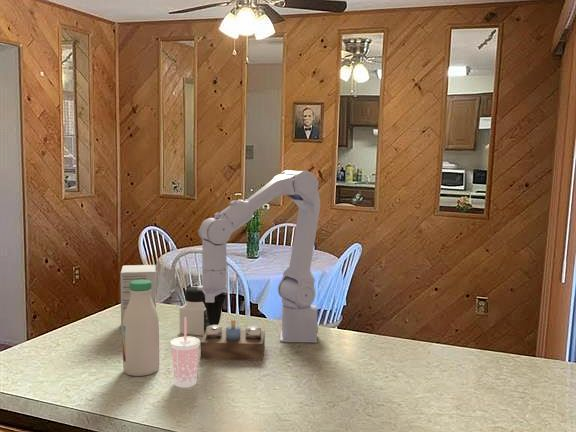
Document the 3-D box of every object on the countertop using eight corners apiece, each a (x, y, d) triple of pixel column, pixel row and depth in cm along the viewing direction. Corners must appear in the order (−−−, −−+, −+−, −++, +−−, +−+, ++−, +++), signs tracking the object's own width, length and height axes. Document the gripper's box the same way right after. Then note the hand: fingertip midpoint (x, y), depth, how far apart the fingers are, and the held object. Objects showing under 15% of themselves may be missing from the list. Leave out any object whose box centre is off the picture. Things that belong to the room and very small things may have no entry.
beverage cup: (206, 380, 113) (206, 316, 112) (187, 391, 108) (187, 323, 106) (183, 374, 116) (183, 311, 115) (164, 384, 111) (163, 319, 109)
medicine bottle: (204, 335, 142) (204, 291, 140) (179, 333, 143) (178, 289, 142) (213, 327, 149) (213, 285, 147) (189, 325, 150) (189, 283, 149)
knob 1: (222, 348, 132) (223, 325, 131) (220, 353, 128) (220, 330, 127) (207, 347, 132) (207, 325, 131) (204, 353, 128) (205, 329, 127)
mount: (264, 346, 134) (264, 331, 134) (262, 360, 125) (262, 343, 125) (206, 345, 134) (206, 330, 134) (200, 358, 125) (200, 342, 125)
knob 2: (261, 349, 132) (261, 326, 131) (260, 354, 128) (260, 331, 127) (246, 348, 132) (246, 325, 131) (244, 354, 128) (244, 330, 127)
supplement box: (122, 323, 151) (122, 264, 149) (156, 322, 153) (156, 264, 151) (120, 334, 141) (119, 272, 140) (156, 332, 144) (156, 271, 142)
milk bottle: (166, 367, 120) (166, 279, 118) (143, 379, 113) (142, 287, 111) (139, 361, 123) (138, 276, 121) (115, 373, 116) (114, 283, 114)
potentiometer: (241, 335, 130) (241, 318, 130) (239, 340, 127) (239, 322, 126) (227, 335, 130) (227, 317, 130) (225, 340, 127) (225, 322, 126)
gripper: (203, 262, 135) (203, 314, 136) (191, 274, 121) (192, 333, 122) (230, 262, 135) (230, 315, 136) (223, 275, 120) (222, 334, 122)
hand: (214, 324), depth 129 cm, fingers closed
